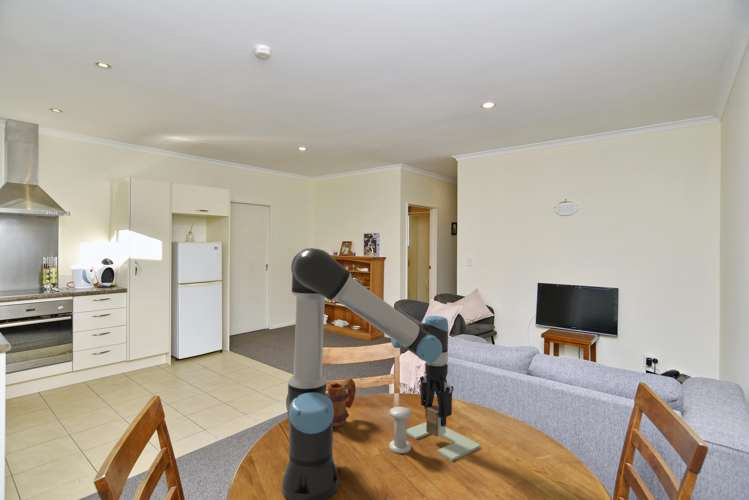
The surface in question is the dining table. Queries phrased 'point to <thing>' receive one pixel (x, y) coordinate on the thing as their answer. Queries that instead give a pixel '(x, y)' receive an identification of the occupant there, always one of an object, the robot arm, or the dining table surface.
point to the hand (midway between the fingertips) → (435, 431)
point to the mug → (341, 399)
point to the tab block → (432, 420)
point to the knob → (400, 430)
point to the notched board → (459, 444)
